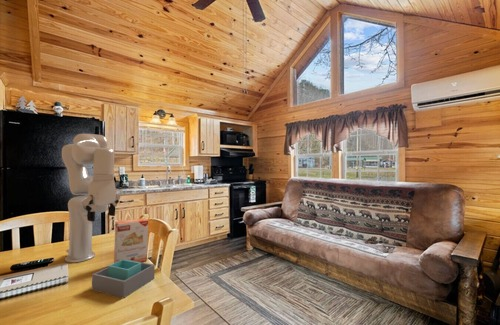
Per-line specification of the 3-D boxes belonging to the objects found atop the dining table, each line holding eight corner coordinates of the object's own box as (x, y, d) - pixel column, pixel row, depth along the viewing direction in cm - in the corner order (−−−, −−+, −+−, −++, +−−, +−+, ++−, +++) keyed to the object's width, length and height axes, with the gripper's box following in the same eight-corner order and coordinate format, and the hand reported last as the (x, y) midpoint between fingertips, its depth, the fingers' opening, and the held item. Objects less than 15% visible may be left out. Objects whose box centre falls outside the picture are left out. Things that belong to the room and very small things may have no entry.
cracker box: (116, 268, 113) (117, 223, 113) (113, 264, 117) (114, 221, 117) (147, 261, 121) (148, 219, 122) (144, 257, 126) (145, 217, 126)
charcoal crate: (91, 289, 94) (92, 274, 94) (125, 272, 109) (125, 259, 109) (123, 298, 89) (124, 281, 89) (154, 278, 104) (154, 264, 104)
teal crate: (107, 283, 97) (108, 265, 97) (122, 275, 104) (122, 259, 104) (127, 288, 94) (127, 269, 94) (140, 279, 100) (141, 263, 101)
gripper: (113, 175, 111) (112, 212, 111) (76, 178, 94) (74, 221, 95) (126, 177, 108) (125, 214, 109) (90, 180, 92) (89, 224, 93)
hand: (101, 218), depth 102 cm, fingers open, 9 cm apart
